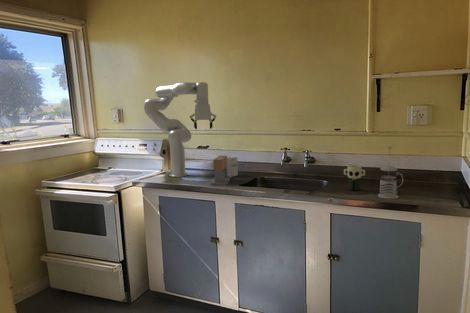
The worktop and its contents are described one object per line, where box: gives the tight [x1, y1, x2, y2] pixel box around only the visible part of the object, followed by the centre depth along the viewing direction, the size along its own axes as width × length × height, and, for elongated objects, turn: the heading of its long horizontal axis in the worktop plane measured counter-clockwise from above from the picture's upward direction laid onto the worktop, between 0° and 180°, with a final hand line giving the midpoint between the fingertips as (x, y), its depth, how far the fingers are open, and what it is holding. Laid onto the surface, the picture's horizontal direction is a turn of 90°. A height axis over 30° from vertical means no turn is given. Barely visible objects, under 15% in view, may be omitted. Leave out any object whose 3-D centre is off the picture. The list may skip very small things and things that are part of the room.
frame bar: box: [212, 155, 228, 172], centre depth 234 cm, size 5×18×7 cm, turn 171°
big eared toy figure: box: [343, 164, 366, 191], centre depth 203 cm, size 11×7×13 cm, turn 69°
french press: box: [377, 145, 404, 199], centre depth 186 cm, size 10×12×25 cm
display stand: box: [210, 167, 232, 186], centre depth 235 cm, size 10×22×8 cm, turn 176°
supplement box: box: [227, 156, 239, 178], centre depth 253 cm, size 7×7×13 cm
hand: (203, 128), depth 244 cm, fingers open, 9 cm apart
